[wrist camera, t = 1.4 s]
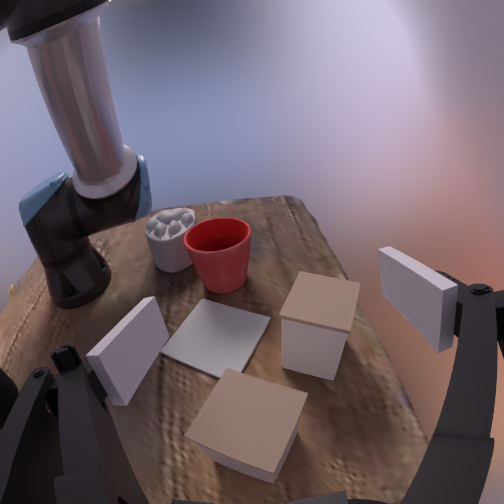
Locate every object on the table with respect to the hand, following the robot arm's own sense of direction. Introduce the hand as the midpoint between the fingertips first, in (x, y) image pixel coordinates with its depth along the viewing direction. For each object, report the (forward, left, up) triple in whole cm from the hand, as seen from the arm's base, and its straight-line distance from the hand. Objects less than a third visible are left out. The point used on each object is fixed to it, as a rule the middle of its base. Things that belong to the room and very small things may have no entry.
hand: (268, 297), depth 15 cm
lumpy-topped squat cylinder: (-32, +26, -21) cm, 46 cm away
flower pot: (-18, +22, -21) cm, 35 cm away
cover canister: (-1, -3, -21) cm, 21 cm away
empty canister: (+1, +12, -21) cm, 24 cm away
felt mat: (-13, +10, -21) cm, 26 cm away
